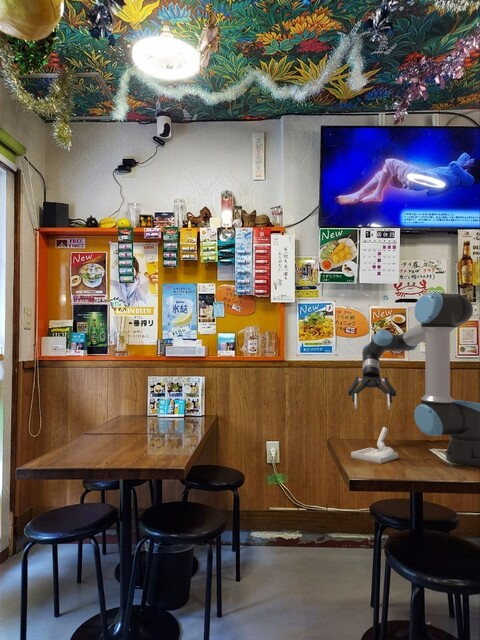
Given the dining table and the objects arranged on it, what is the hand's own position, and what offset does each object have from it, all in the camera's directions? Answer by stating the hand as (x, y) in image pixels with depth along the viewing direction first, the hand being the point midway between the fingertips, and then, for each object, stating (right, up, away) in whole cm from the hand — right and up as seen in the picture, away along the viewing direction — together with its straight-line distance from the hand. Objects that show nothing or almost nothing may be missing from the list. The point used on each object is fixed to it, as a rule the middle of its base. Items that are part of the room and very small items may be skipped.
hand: (372, 407), depth 187 cm
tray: (-3, -18, -12) cm, 22 cm away
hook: (+1, -16, -13) cm, 21 cm away
